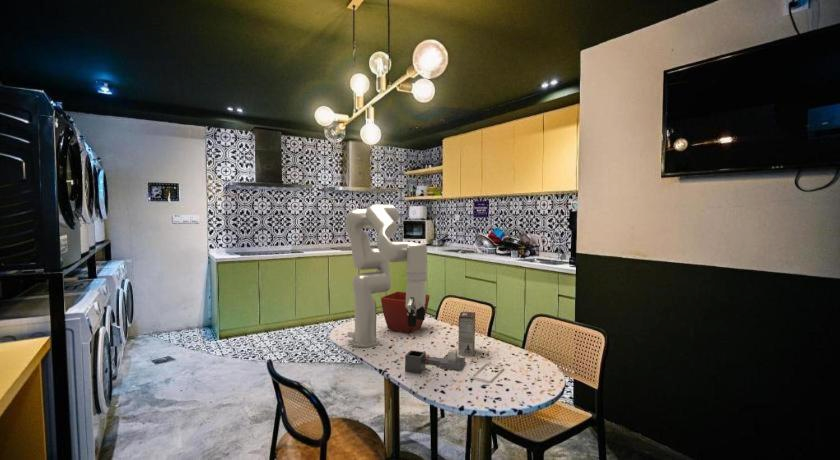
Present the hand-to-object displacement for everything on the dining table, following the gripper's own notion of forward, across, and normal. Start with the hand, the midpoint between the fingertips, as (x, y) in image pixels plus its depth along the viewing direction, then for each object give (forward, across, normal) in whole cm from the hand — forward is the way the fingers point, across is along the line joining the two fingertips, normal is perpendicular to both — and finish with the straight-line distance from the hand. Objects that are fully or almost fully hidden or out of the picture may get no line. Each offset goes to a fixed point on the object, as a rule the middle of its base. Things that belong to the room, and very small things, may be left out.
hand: (416, 322), depth 145 cm
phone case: (+19, -6, +26) cm, 32 cm away
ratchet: (+18, -9, +4) cm, 20 cm away
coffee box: (+18, -26, +14) cm, 35 cm away
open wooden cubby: (+18, 0, 0) cm, 18 cm away
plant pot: (+18, -48, -22) cm, 56 cm away
